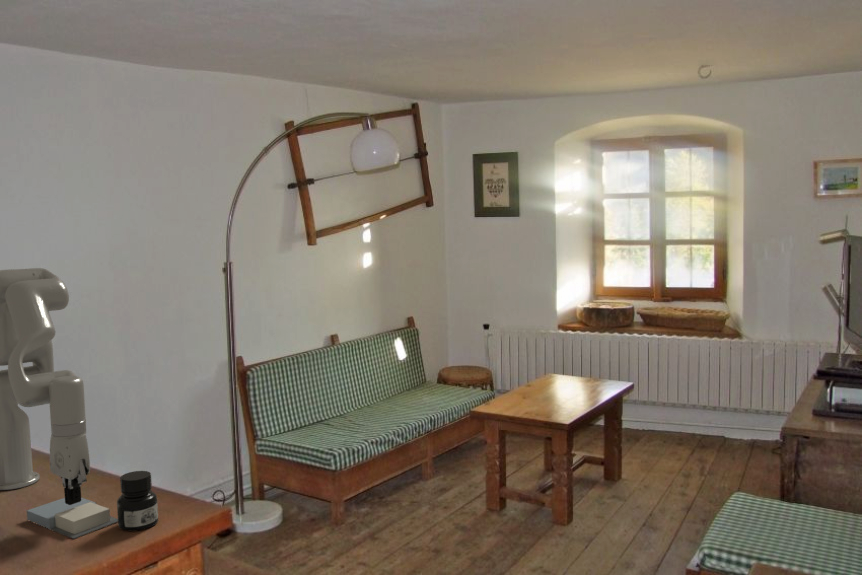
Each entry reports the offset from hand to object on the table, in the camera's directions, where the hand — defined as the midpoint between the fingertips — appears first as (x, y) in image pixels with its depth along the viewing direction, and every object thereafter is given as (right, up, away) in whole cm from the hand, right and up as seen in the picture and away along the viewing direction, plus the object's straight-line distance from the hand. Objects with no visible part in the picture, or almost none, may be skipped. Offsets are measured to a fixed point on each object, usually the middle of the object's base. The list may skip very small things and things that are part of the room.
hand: (73, 502), depth 185 cm
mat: (+4, -5, -2) cm, 7 cm away
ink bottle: (+17, -5, -2) cm, 17 cm away
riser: (-4, -4, +3) cm, 7 cm away
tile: (+3, -3, -2) cm, 5 cm away
